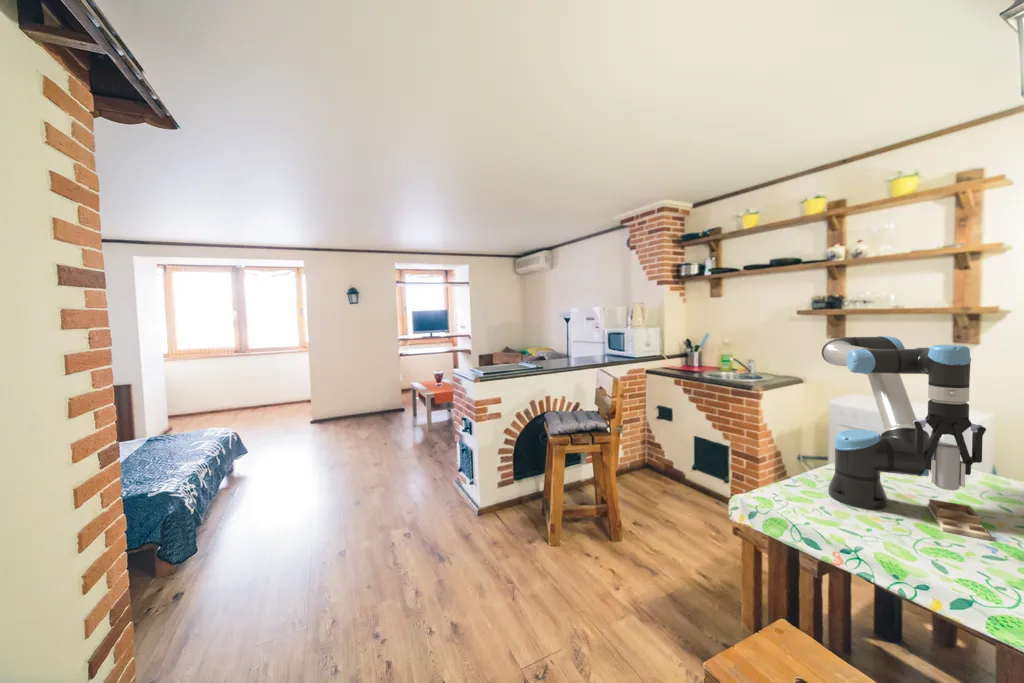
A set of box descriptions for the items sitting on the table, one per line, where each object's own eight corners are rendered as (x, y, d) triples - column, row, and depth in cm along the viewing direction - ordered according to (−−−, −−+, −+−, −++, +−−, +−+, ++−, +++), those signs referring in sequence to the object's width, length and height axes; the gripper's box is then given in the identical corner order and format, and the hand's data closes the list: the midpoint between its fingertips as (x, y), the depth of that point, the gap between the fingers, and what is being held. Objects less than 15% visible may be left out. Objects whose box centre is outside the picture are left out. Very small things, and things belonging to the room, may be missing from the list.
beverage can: (965, 491, 105) (966, 448, 104) (943, 490, 105) (944, 448, 105) (948, 483, 109) (949, 442, 108) (928, 483, 110) (929, 442, 109)
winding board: (942, 531, 112) (943, 520, 112) (927, 507, 125) (927, 498, 124) (990, 540, 106) (990, 529, 106) (969, 514, 119) (969, 504, 119)
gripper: (905, 401, 108) (904, 481, 110) (1004, 407, 97) (1002, 496, 99) (899, 395, 114) (898, 471, 116) (992, 400, 103) (990, 484, 105)
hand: (946, 482), depth 107 cm, fingers closed on beverage can, 5 cm apart
